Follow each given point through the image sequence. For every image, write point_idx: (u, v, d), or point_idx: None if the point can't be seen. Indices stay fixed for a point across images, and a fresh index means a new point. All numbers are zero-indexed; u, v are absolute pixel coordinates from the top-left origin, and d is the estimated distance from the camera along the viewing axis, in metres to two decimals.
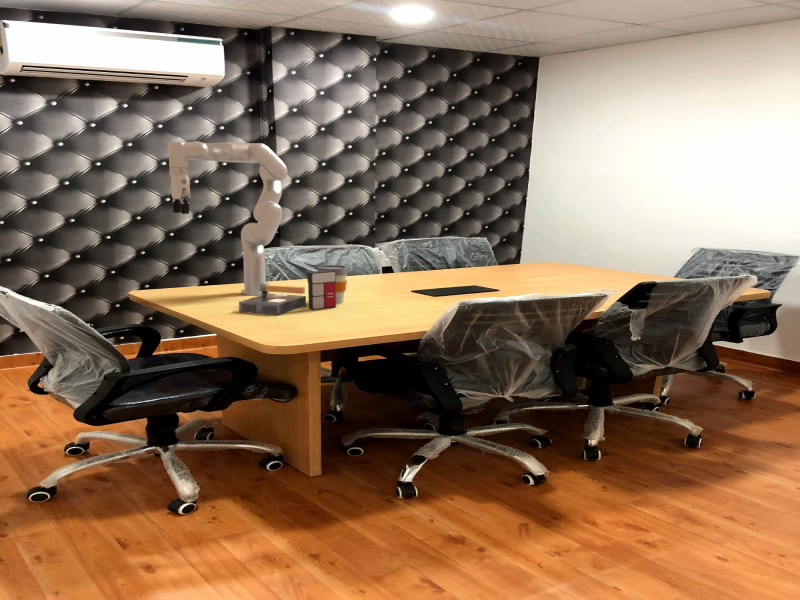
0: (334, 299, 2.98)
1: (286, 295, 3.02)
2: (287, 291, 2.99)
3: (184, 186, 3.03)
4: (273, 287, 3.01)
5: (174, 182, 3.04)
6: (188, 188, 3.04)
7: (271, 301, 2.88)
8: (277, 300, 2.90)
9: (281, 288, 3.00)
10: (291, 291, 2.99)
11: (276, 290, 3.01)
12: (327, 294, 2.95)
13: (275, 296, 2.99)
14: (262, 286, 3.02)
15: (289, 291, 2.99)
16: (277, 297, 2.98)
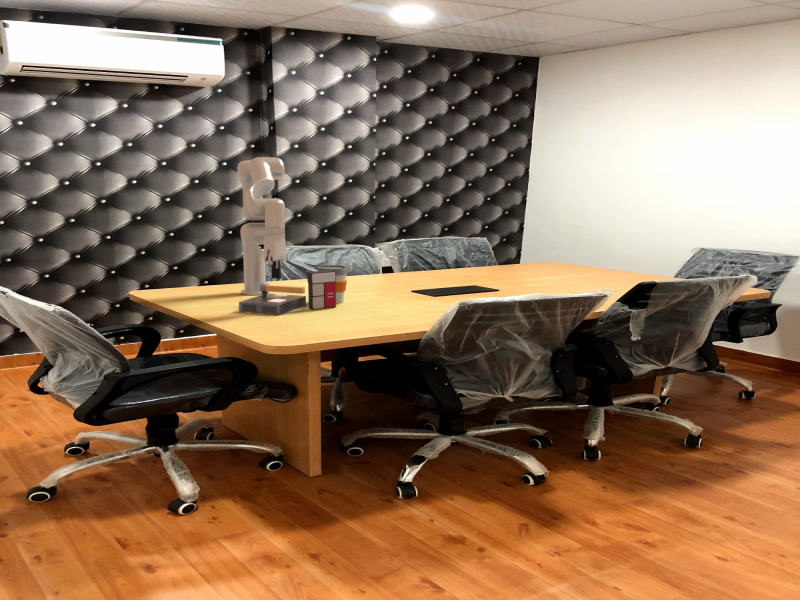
0: (334, 299, 2.98)
1: (286, 295, 3.02)
2: (287, 291, 2.99)
3: None
4: (273, 287, 3.01)
5: (282, 242, 2.86)
6: None
7: (271, 301, 2.88)
8: (277, 300, 2.90)
9: (281, 288, 3.00)
10: (291, 291, 2.99)
11: (276, 290, 3.01)
12: (327, 294, 2.95)
13: (275, 296, 2.99)
14: (262, 286, 3.02)
15: (289, 291, 2.99)
16: (277, 297, 2.98)
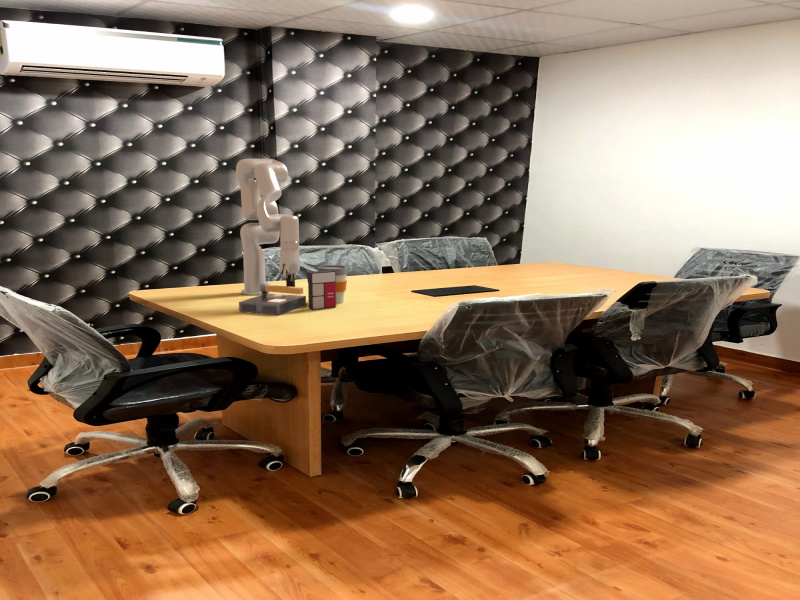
0: (334, 299, 2.98)
1: (286, 295, 3.02)
2: (285, 291, 2.98)
3: None
4: (272, 287, 3.01)
5: (296, 256, 3.00)
6: None
7: (271, 301, 2.88)
8: (277, 300, 2.90)
9: (280, 288, 2.99)
10: (289, 291, 2.98)
11: (275, 290, 3.00)
12: (327, 294, 2.95)
13: (275, 296, 2.99)
14: (262, 286, 3.02)
15: (287, 291, 2.98)
16: (277, 297, 2.98)
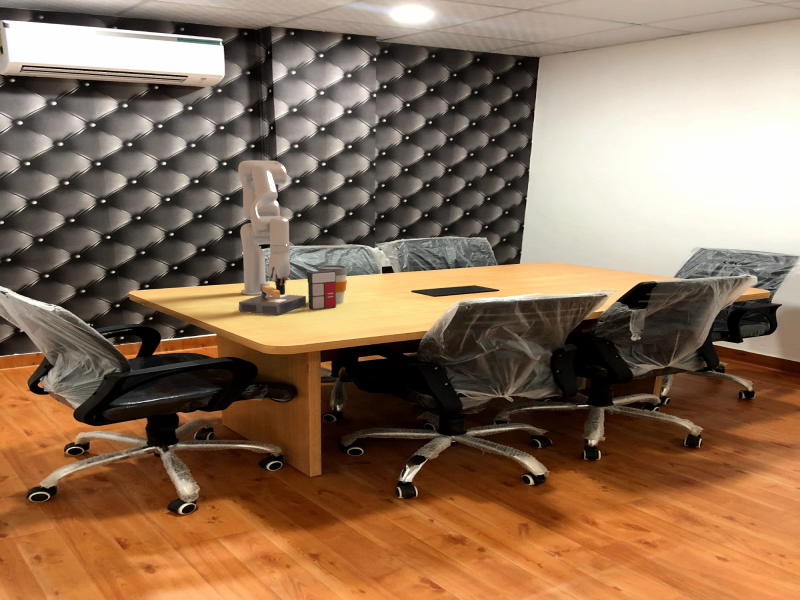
0: (334, 299, 2.98)
1: (286, 295, 3.02)
2: (269, 293, 2.94)
3: None
4: (264, 288, 2.99)
5: (286, 260, 2.93)
6: None
7: (271, 301, 2.88)
8: (277, 300, 2.90)
9: (267, 290, 2.96)
10: (270, 294, 2.92)
11: (265, 291, 2.98)
12: (327, 294, 2.95)
13: None
14: (260, 286, 3.03)
15: (270, 293, 2.93)
16: (277, 297, 2.98)
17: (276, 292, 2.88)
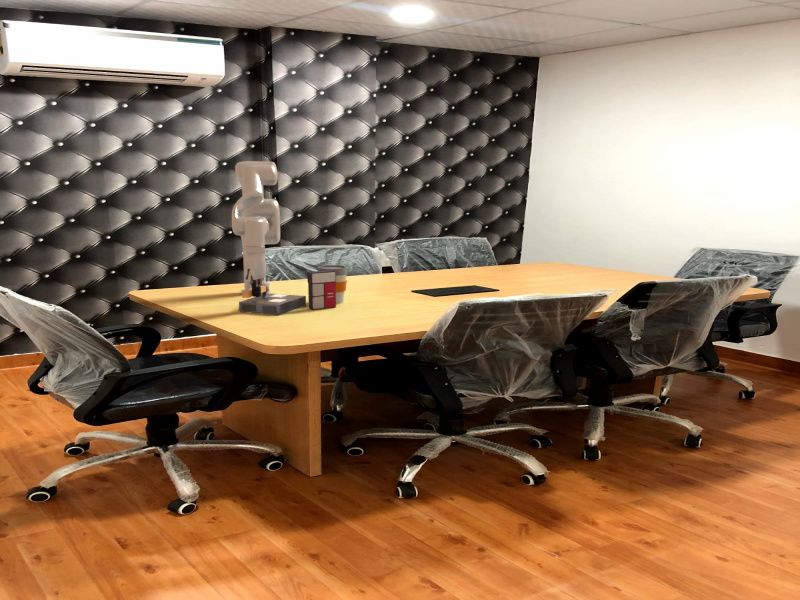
0: (334, 299, 2.98)
1: (286, 295, 3.02)
2: None
3: None
4: None
5: (262, 261, 2.88)
6: None
7: (271, 301, 2.88)
8: (277, 300, 2.90)
9: None
10: None
11: None
12: (327, 294, 2.95)
13: (275, 296, 2.99)
14: None
15: None
16: (277, 297, 2.98)
17: (244, 292, 2.87)
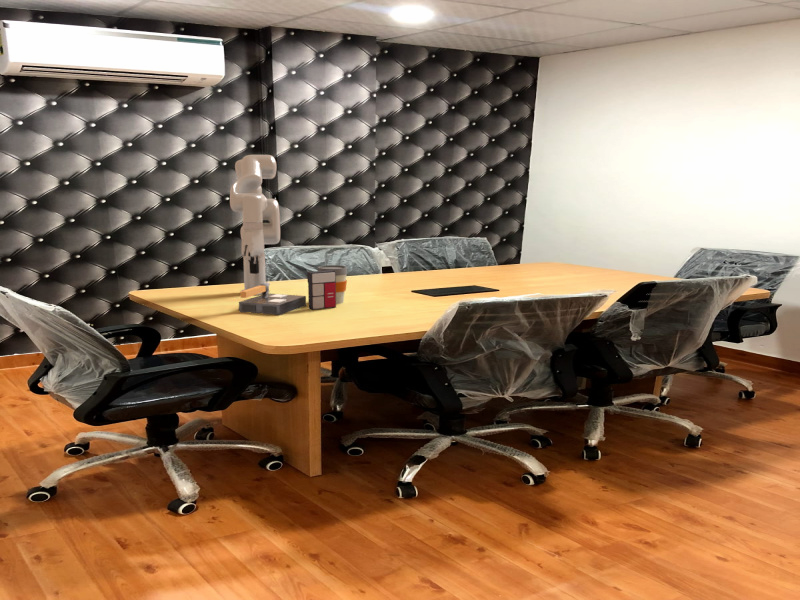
0: (334, 299, 2.98)
1: (286, 295, 3.02)
2: None
3: None
4: None
5: (260, 237, 2.86)
6: None
7: (271, 301, 2.88)
8: (277, 300, 2.90)
9: None
10: None
11: None
12: (327, 294, 2.95)
13: (275, 296, 2.99)
14: None
15: None
16: (277, 297, 2.98)
17: (242, 292, 2.87)
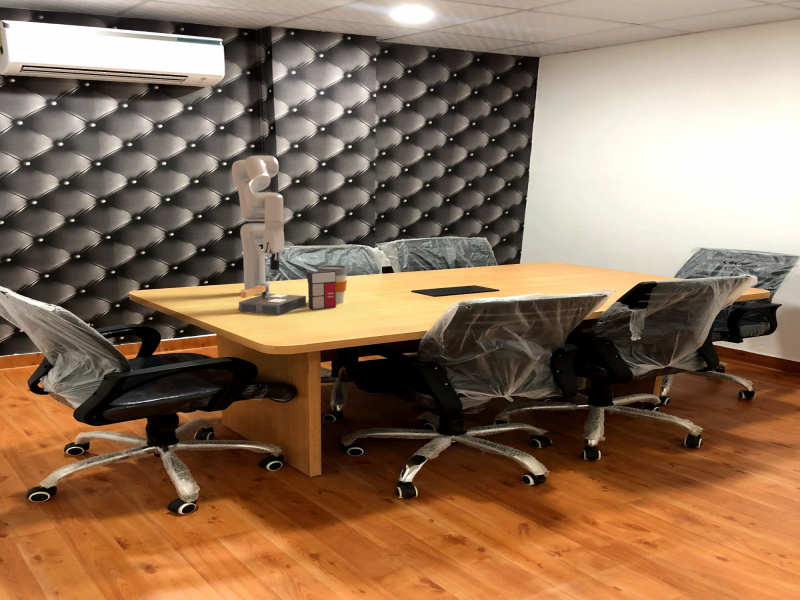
0: (334, 299, 2.98)
1: (286, 295, 3.02)
2: None
3: None
4: None
5: (280, 235, 2.98)
6: None
7: (271, 301, 2.88)
8: (277, 300, 2.90)
9: None
10: None
11: None
12: (327, 294, 2.95)
13: (275, 296, 2.99)
14: None
15: None
16: (277, 297, 2.98)
17: (242, 292, 2.87)
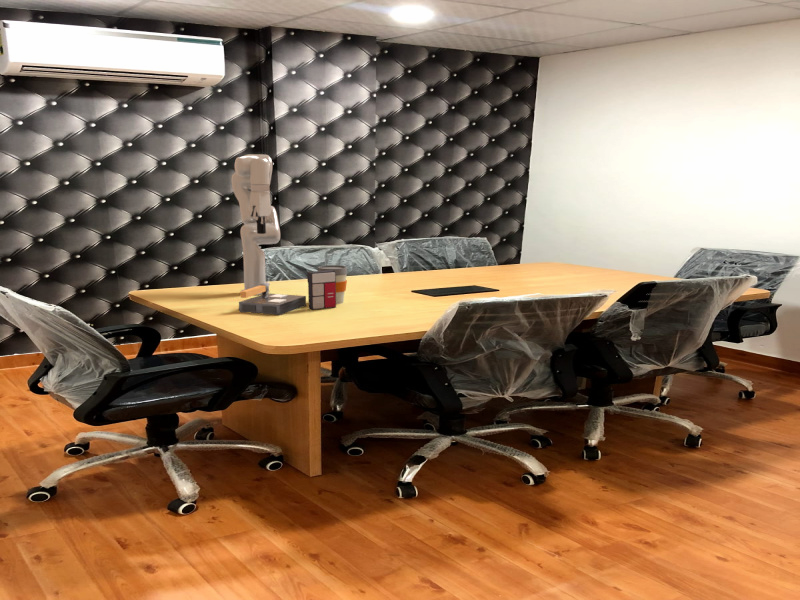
0: (334, 299, 2.98)
1: (286, 295, 3.02)
2: None
3: None
4: None
5: (266, 199, 3.02)
6: None
7: (271, 301, 2.88)
8: (277, 300, 2.90)
9: None
10: None
11: None
12: (327, 294, 2.95)
13: (275, 296, 2.99)
14: None
15: None
16: (277, 297, 2.98)
17: (242, 292, 2.87)
